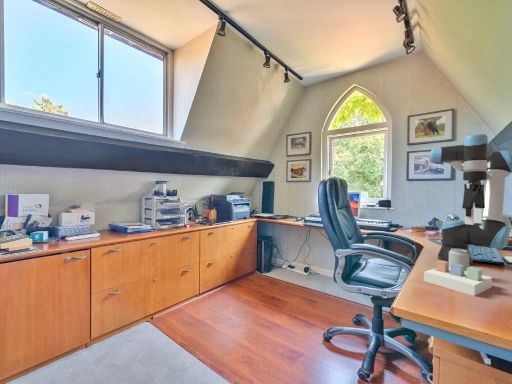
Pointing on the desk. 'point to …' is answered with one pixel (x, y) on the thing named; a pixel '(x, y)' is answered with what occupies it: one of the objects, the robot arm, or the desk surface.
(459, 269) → the slate button
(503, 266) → the desk surface
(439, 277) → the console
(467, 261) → the can
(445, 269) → the terracotta button
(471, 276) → the sage button
